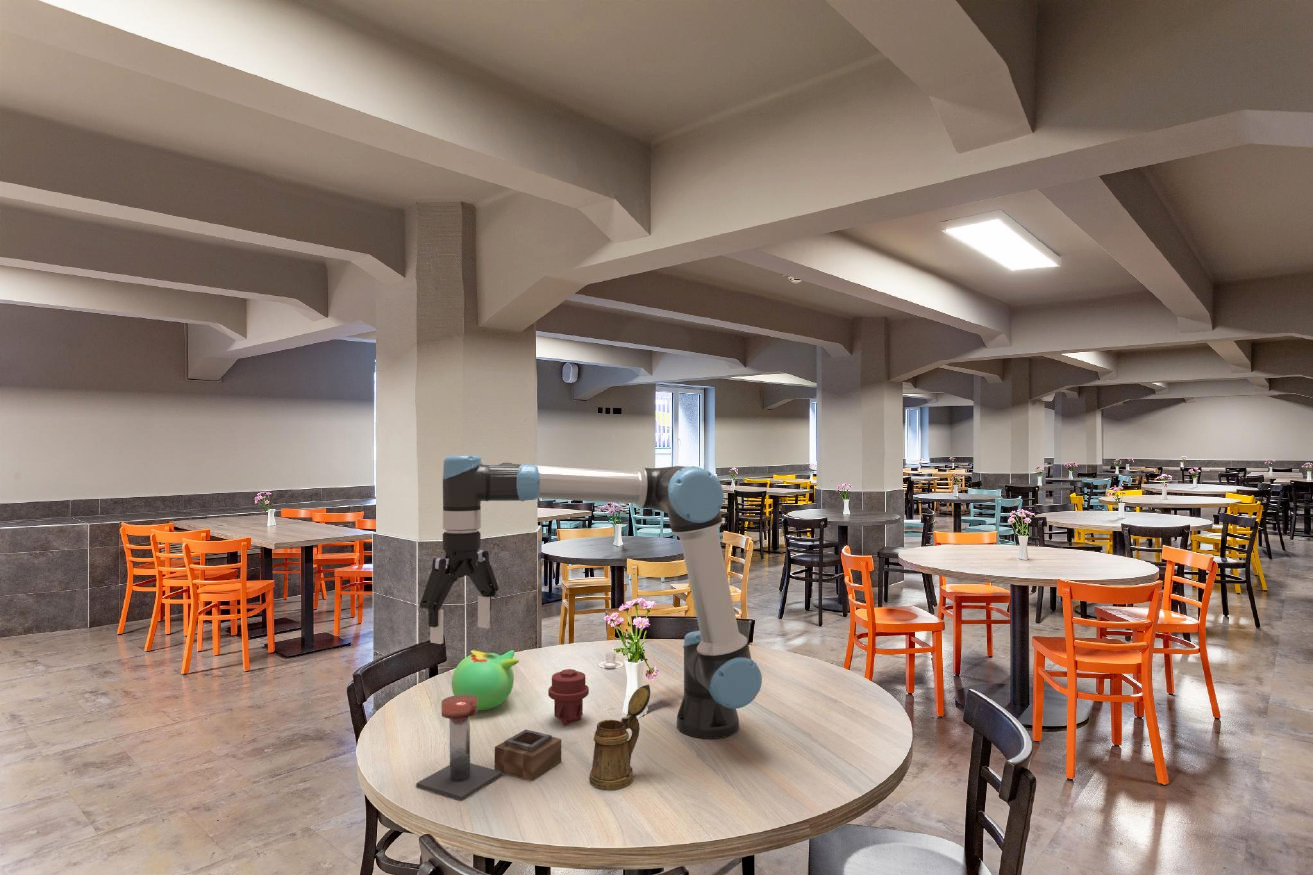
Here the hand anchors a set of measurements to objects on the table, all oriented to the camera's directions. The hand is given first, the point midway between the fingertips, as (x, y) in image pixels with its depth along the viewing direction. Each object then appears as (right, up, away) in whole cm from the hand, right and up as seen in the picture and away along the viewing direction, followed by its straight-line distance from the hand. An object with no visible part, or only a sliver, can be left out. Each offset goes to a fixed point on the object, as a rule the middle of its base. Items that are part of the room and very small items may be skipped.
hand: (461, 635), depth 147 cm
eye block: (+13, -30, +6) cm, 33 cm away
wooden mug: (+33, -30, +2) cm, 44 cm away
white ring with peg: (+23, -32, +77) cm, 86 cm away
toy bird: (-5, -31, +42) cm, 52 cm away
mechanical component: (+18, -30, +32) cm, 48 cm away
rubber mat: (0, -30, 0) cm, 30 cm away
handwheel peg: (0, -29, 0) cm, 29 cm away
